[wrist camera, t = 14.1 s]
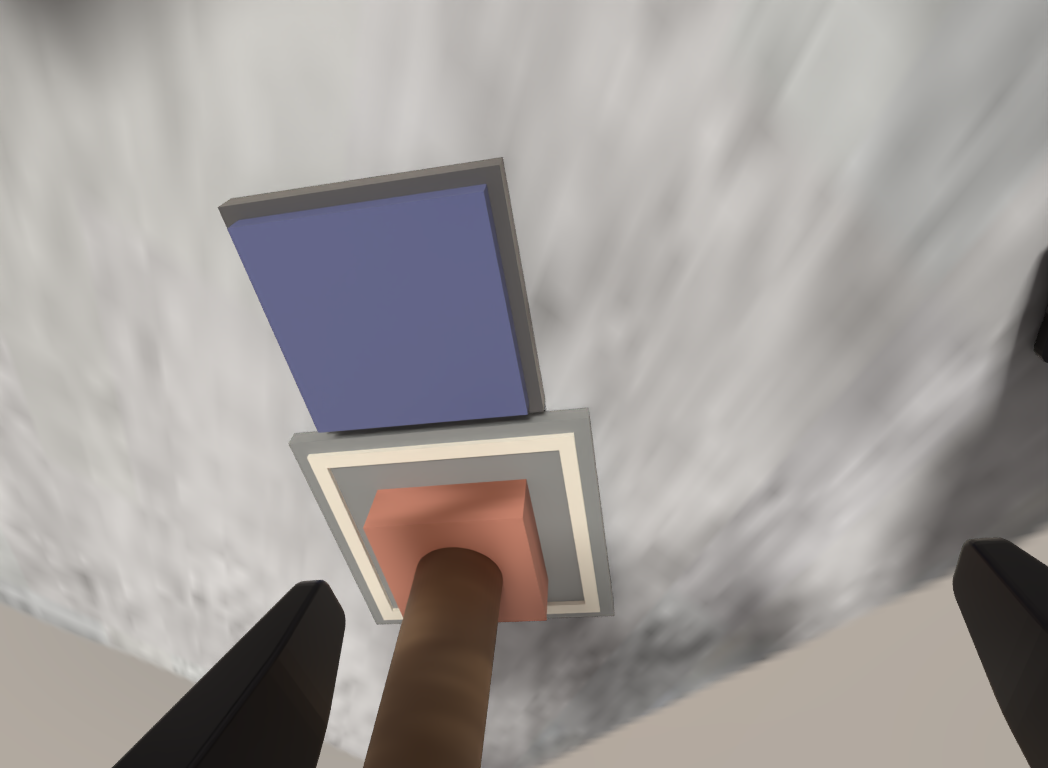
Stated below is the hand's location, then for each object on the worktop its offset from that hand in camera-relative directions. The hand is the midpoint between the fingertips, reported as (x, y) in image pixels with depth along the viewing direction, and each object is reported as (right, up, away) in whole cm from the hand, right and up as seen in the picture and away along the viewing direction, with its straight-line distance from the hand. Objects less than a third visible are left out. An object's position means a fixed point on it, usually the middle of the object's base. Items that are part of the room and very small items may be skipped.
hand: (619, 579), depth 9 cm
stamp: (-4, -4, +16) cm, 17 cm away
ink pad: (-5, +5, +11) cm, 14 cm away
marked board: (-4, -3, +17) cm, 18 cm away
